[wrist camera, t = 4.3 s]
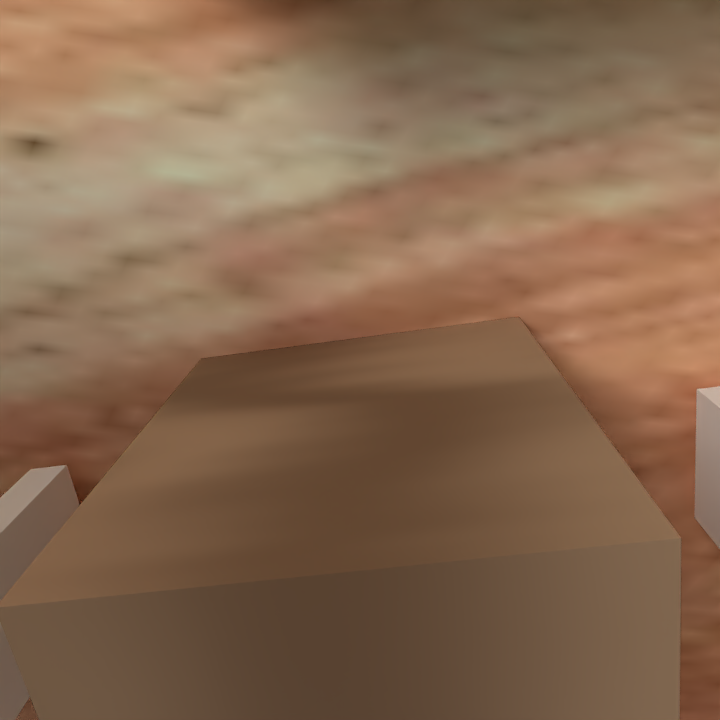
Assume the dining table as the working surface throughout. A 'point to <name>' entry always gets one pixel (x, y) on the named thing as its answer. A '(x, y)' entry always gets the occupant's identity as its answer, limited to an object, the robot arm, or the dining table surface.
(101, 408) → the dining table surface
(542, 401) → the walnut block
